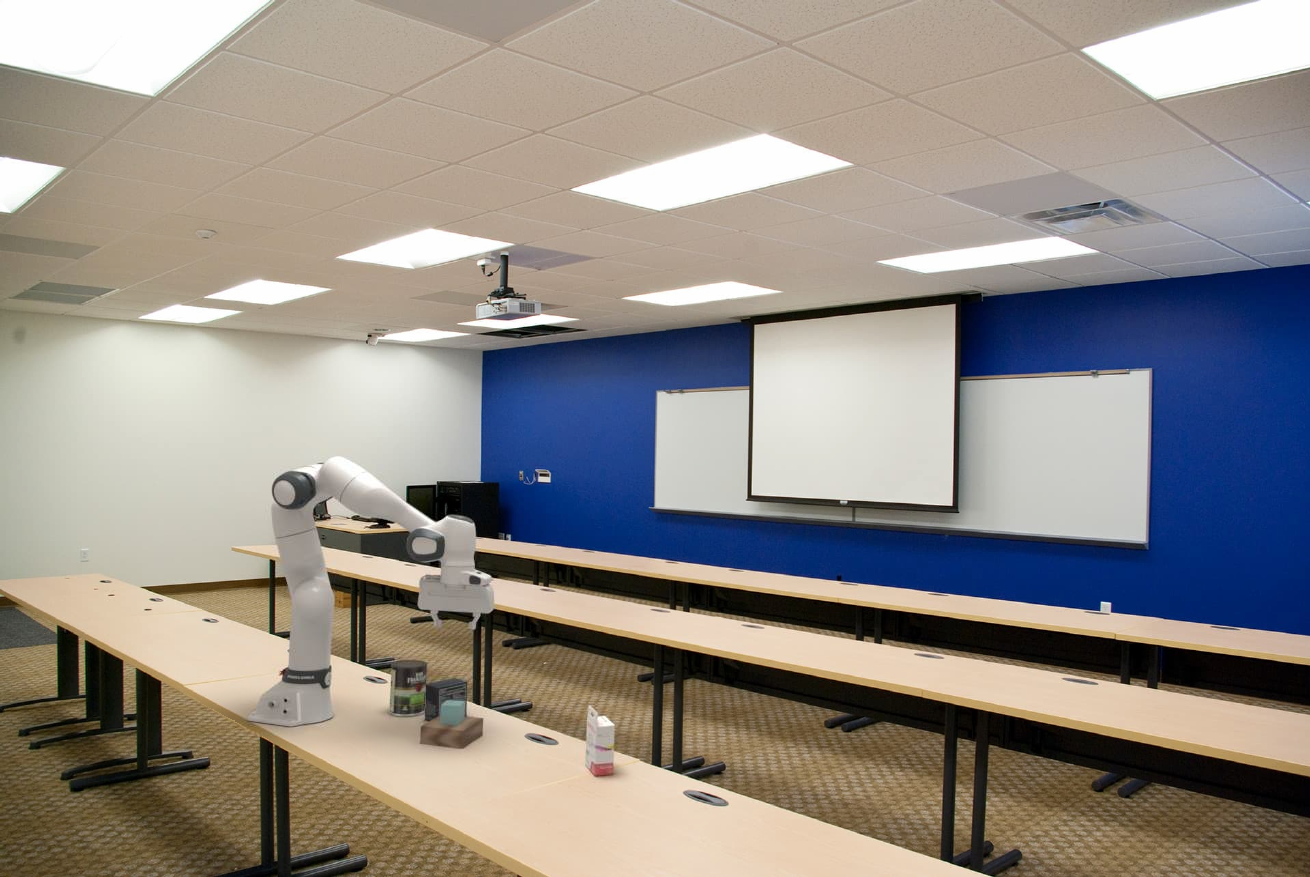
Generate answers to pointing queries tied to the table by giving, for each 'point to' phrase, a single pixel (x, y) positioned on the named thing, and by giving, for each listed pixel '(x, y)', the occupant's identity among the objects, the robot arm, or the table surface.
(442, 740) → the walnut base block
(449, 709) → the teal cube
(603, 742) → the ink cartridge box
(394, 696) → the coffee can
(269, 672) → the table surface
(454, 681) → the small box
